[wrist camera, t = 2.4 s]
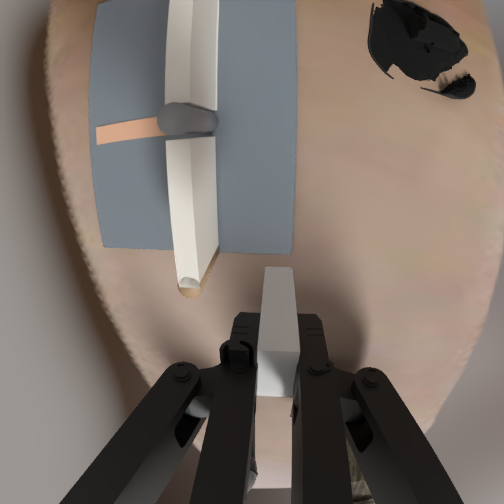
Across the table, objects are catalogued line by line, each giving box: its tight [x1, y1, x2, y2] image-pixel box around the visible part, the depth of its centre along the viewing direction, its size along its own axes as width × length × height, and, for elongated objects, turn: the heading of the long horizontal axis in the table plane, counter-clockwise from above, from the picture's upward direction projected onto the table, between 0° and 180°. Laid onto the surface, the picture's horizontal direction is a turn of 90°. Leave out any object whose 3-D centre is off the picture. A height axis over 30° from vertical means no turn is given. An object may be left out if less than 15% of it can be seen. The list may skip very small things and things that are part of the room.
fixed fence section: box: [157, 0, 219, 135], centre depth 15 cm, size 16×2×9 cm, turn 0°
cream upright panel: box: [166, 137, 220, 298], centre depth 21 cm, size 11×2×7 cm, turn 0°
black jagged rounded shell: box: [368, 0, 476, 99], centre depth 15 cm, size 12×10×5 cm
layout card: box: [89, 0, 297, 255], centre depth 21 cm, size 28×20×1 cm
